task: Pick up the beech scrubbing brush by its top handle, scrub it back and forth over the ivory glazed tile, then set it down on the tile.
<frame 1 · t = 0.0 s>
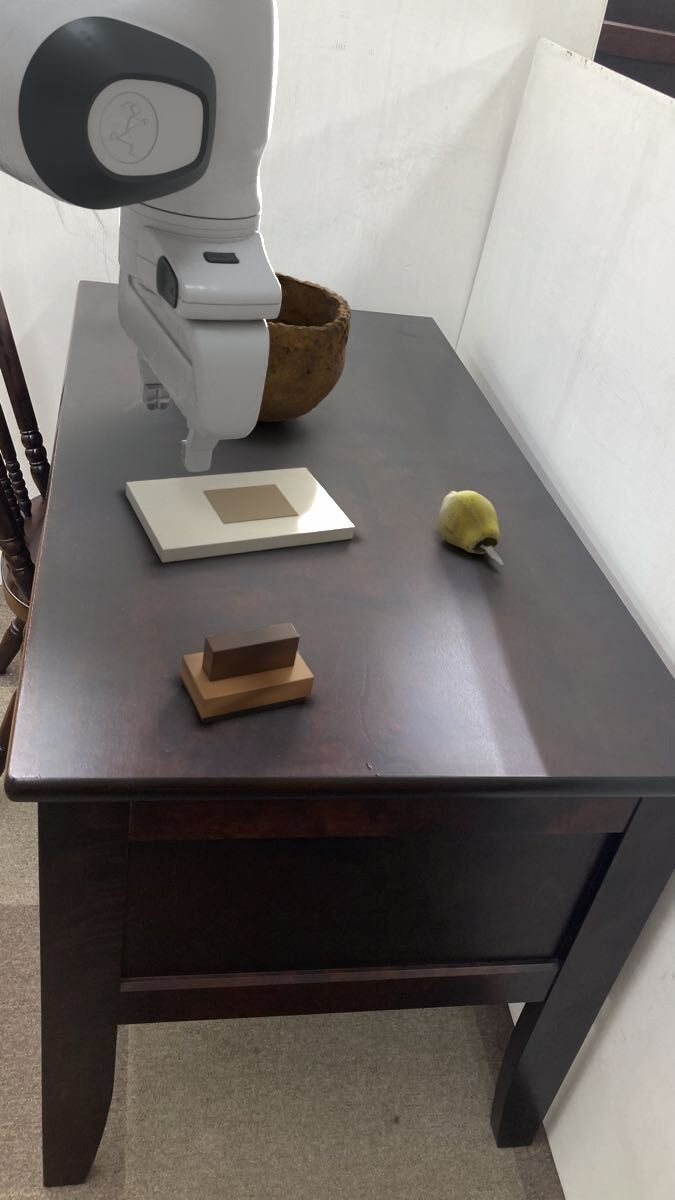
hand: (173, 435, 66), 17 cm above the table, tool pointing down, fingers open, 8 cm apart
fruit: (179, 326, 128), on the table
fruit 2: (469, 549, 94), on the table
tile: (239, 517, 90), on the table
bowl: (257, 413, 110), on the table
brush: (244, 692, 70), on the table
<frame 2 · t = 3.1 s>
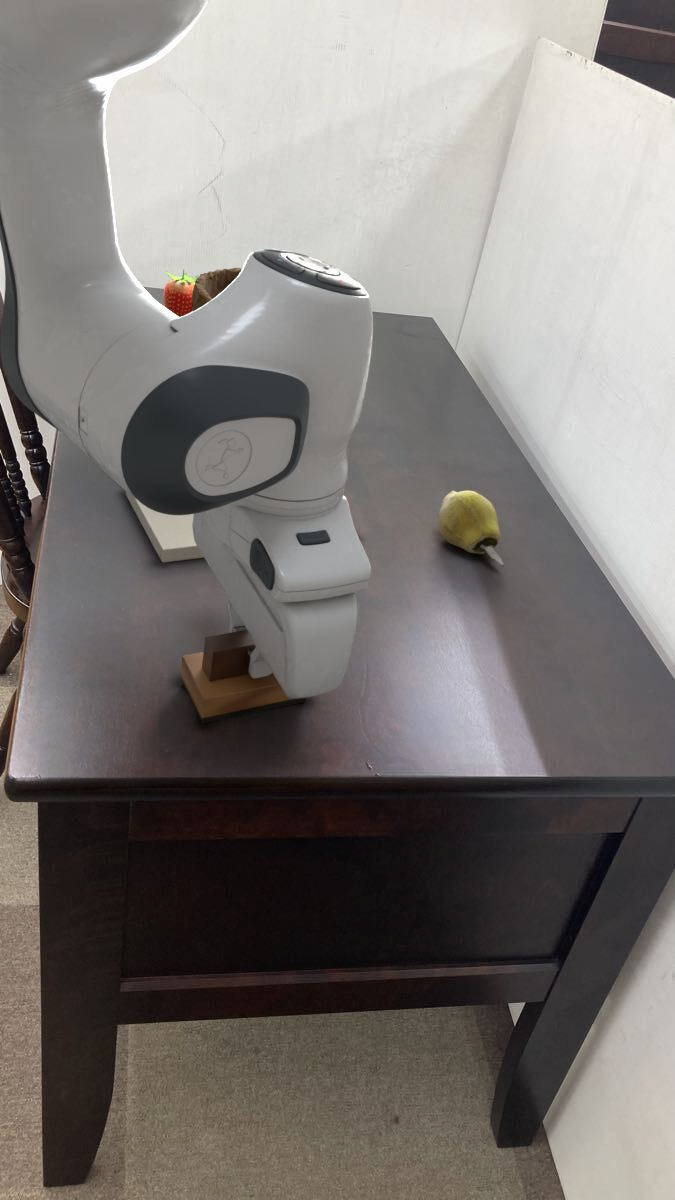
hand: (249, 657, 68), 4 cm above the table, tool pointing down, fingers closed on brush
brush: (244, 692, 70), on the table, touching gripper
everything else where it was.
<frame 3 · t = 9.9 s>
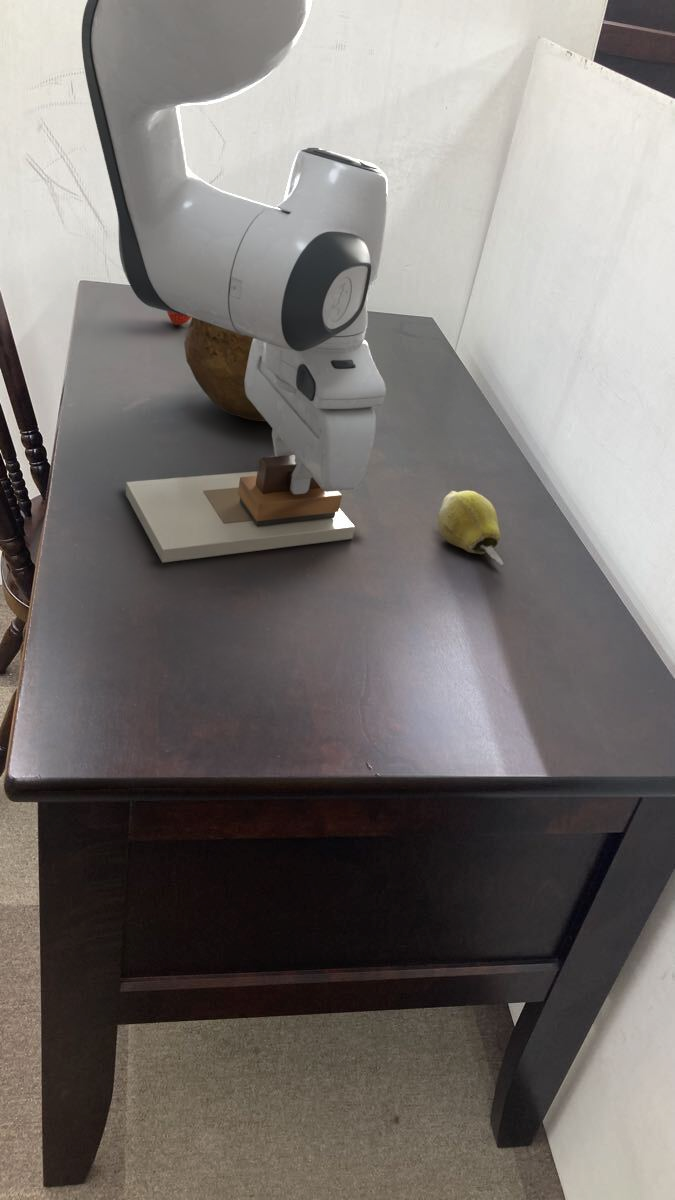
hand: (290, 481, 88), 5 cm above the table, tool pointing down, fingers closed on brush
brush: (287, 509, 90), point 2 cm above the table, touching gripper
everything else where it was.
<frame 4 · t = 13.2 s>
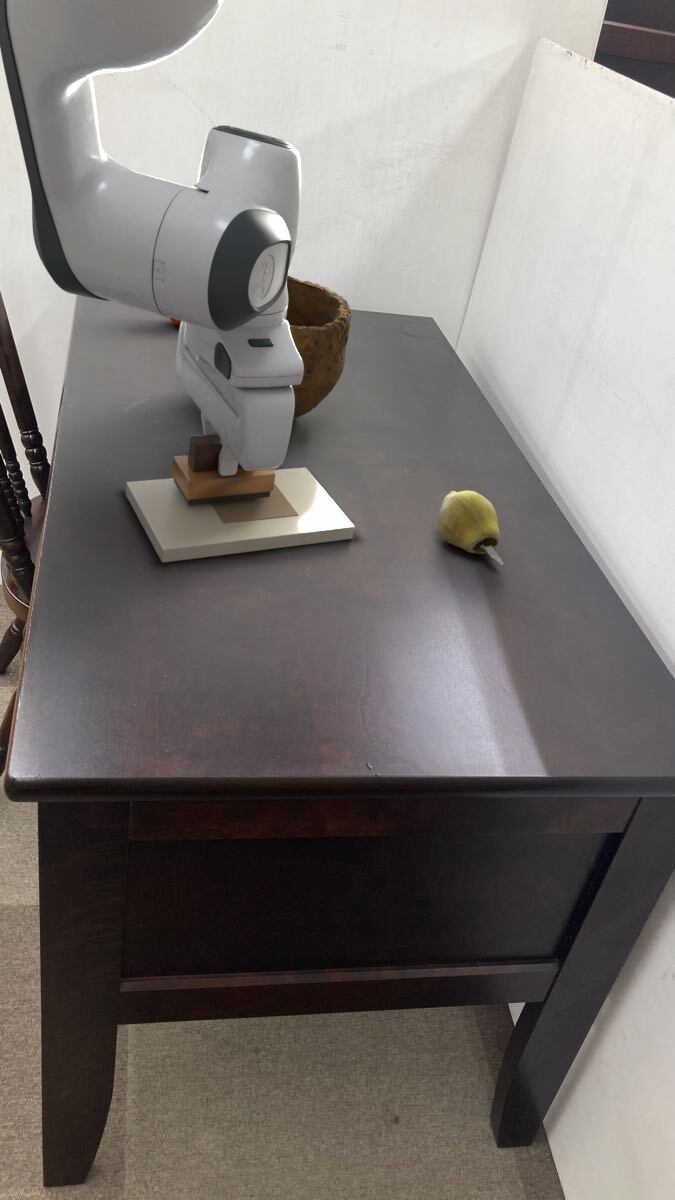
hand: (219, 463, 88), 5 cm above the table, tool pointing down, fingers closed on brush
brush: (221, 489, 90), point 2 cm above the table, touching gripper
everything else where it was.
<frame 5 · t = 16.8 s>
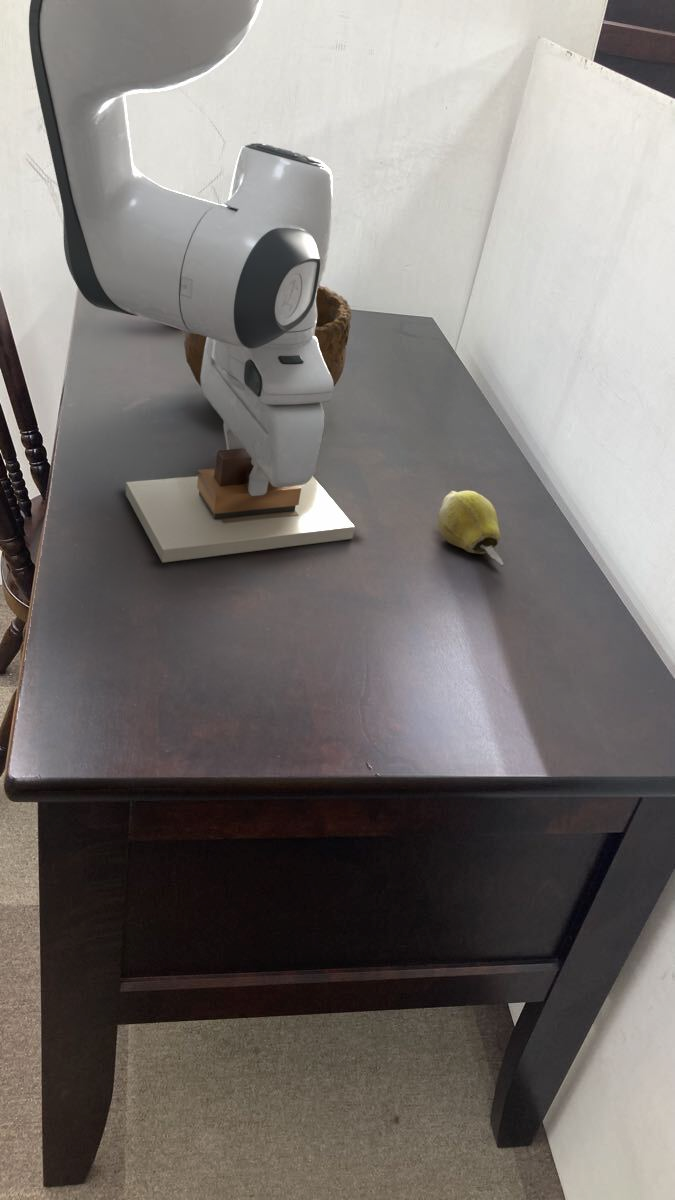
hand: (245, 478, 88), 4 cm above the table, tool pointing down, fingers closed on brush, 4 cm apart
brush: (246, 503, 90), point 2 cm above the table, touching gripper, tile
everything else where it was.
when the fingers open (4 cm above the table, at t = 16.8 s): brush stays where it is, resting on tile.
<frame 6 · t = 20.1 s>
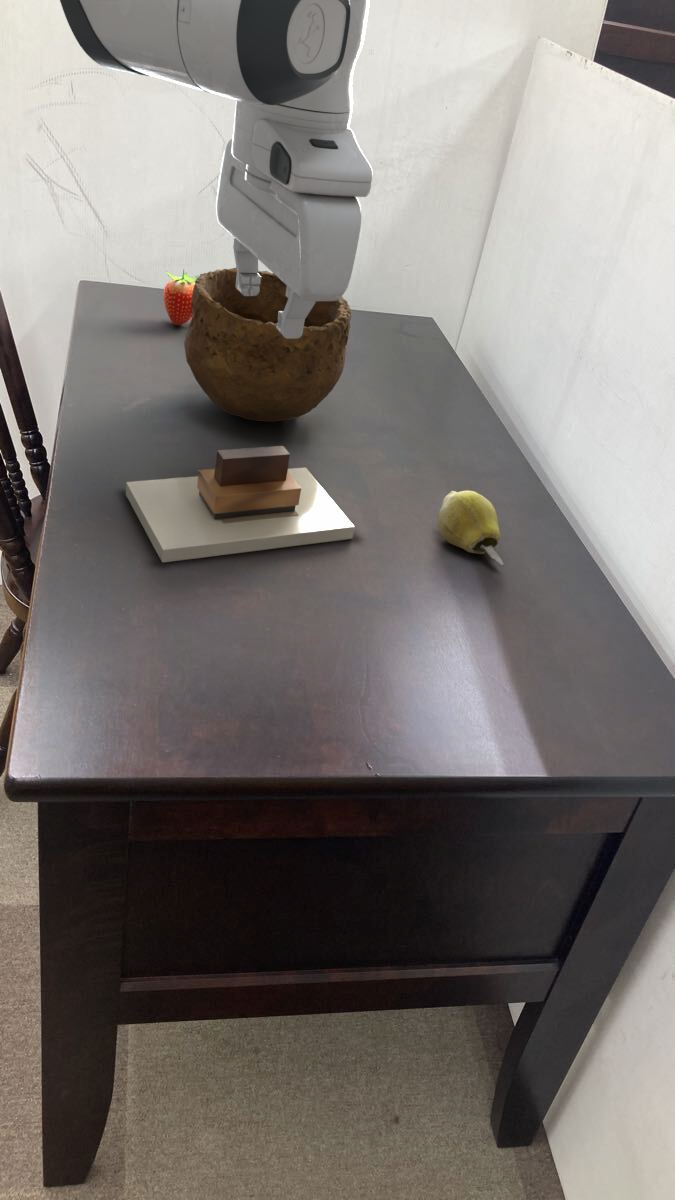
hand: (266, 313, 78), 21 cm above the table, tool pointing down, fingers open, 8 cm apart
brush: (246, 503, 90), point 2 cm above the table, touching tile
everything else where it was.
at the end: brush inside the target area on the tile (0.6 cm from its centre), point 1.6 cm above the tile's base; brush touching tile; the gripper is holding nothing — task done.
